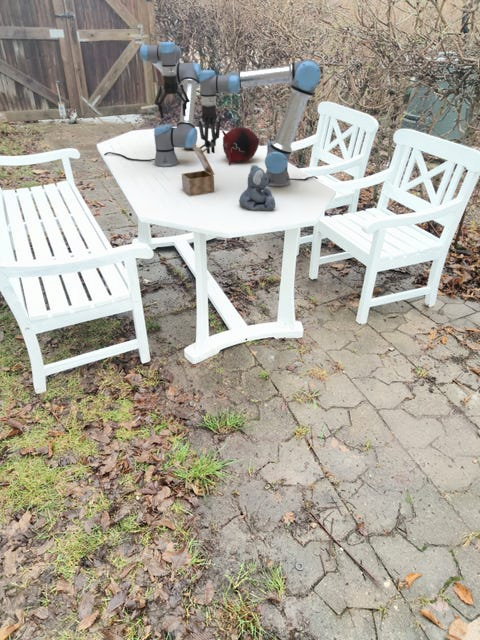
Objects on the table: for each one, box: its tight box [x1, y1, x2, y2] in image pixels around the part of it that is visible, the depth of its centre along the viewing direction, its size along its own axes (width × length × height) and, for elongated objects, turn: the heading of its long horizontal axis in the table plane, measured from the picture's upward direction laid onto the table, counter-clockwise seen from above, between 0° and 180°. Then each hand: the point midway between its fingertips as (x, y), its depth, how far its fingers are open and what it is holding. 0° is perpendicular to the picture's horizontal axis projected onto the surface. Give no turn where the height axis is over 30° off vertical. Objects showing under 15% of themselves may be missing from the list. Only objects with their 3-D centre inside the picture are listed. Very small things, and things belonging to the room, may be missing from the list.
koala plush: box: [238, 164, 276, 211], centre depth 224 cm, size 17×18×20 cm
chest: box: [181, 170, 215, 197], centre depth 247 cm, size 14×12×9 cm
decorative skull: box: [221, 126, 260, 166], centre depth 295 cm, size 21×24×25 cm
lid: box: [192, 140, 216, 176], centre depth 242 cm, size 15×12×9 cm
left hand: (173, 117), depth 258 cm, fingers open, 13 cm apart
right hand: (210, 152), depth 242 cm, fingers closed on lid, 2 cm apart
